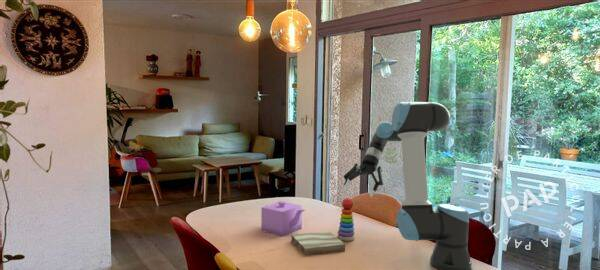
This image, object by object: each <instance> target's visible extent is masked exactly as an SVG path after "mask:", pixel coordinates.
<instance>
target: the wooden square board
mask: <svg viewBox="0 0 600 270" xmlns="http://www.w3.org/2000/svg"><path fill="white" fill-rule="evenodd" d="M291 242H292V243H293V245H294V246H296V247H297V249H298V250H299V251H300V252H301V253H302V254H303V255H304V256H311V255H319V254H328V253H338V252H339V253H340V252H345V251H346V243H344V241H342V240H340V239H338V237H337V236H335V234H333V233H331V231H329V230H327V231H316V232H315V231H314V232H307V233H304V232H303V233H295V234H291Z"/></svg>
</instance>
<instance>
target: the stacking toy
mask: <svg viewBox="0 0 600 270" xmlns="http://www.w3.org/2000/svg"><path fill="white" fill-rule="evenodd" d="M341 206H342V209H341V213H340V219H339V220H340V221H339V227H338V230H337V236H336V237H337V238H338V239H340V240H341V241H342V242H352V241H353V240H355V238H356V236H355V231H354V230H355V223H354V215H353V212H354V211H353V209H352V208H353V206H354V201H353V200H352V199H351V198H348V197H347V198H344V199H342V202H341Z"/></svg>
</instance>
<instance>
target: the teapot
mask: <svg viewBox="0 0 600 270" xmlns="http://www.w3.org/2000/svg"><path fill="white" fill-rule="evenodd" d="M305 211H306V210H305V209H303V205H302V204H295V203H291V202H288V201H287V202H286V201H284V200H280V201H279V200H278V202H274V203H271V204H268V205H265V206H264V205H263V206H261V220H260V221H261V222H260V223H261V229H260V230H262V231H261V232H263V231H266V232H265V233H267V232H269V233H268V234H271V233H273V234H272V235H275V234H276V235H275V236H278V235H279V237H282V236H283V237H285V236H287V235H290V234H292V233H295V232H297V231H300V230H301V229H302V226H303V225H302V224H303V223H302V222H303V212H305ZM289 233H290V234H289Z"/></svg>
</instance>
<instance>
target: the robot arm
mask: <svg viewBox="0 0 600 270" xmlns="http://www.w3.org/2000/svg"><path fill="white" fill-rule="evenodd" d="M450 121H451V114H450V111H449V110H448V109H447V107H445V106H444V105H443V104H441V103H439V102H434V101H429V102H428V101H427V102H426V101H410V100H409V101H400V102H398V103H397V104H396V105H395V107H394V108H393V111H392V115H391V122H388V121H382V122H381V123H379V124H378V126H377V128H376V129H375V132H374V134H373V135H372V137H371V140H370V142H369V145H368V148H367V149H366V152H365V155H364V157H363V159H362V163H361V164H358V163H355V164H354V166H352V168H351V169H350V170H348V172H347V173H345V174H344V175H343V179H344V180H345V181H344V184H343V185H344V187H343V189H342V190H343V193H344V194H347V192H348V190H349V188H350V186H351V183H352V182H351V181H353V180H354V179H356V178H358V177H359V176H362V175H365V176H366V175H367V176H371V177H372V179H373V181H374V182H373V183H372V185H371V189H370V190H369V193H368V195H369V198H371V199H372V198H373V196H374V194H375V192H377V190H378V188H379V186H384V181H383V175H382V171H383V170H382V167H381V166H378V165H379V161H380V160H381V157H382V154H383V152H384V150H385V147H386V145H387V144H388V142H401V148H402V150H401V151H402V154H401V155H402V169H403V170H402V171H403V185H404V202H403V203H402V204H401V208H399V210H397V211H396V224H397V227H398V231H399V233H400V235H401V237H402V238H404V240H407V241H416V242H418V241H435V244H434V248H433V249H432V253H431V255H430V258H429V260H430V261H429V262H430V265H431V266H432V267H434V268H436V269H438V270H470V269H471V270H472V264H473V263H472V259H471V255H470V252H469V249H468V244H469V243H468V241H469V223H470V217H469V215H470V214H469V212H468V210H467V209H465V208H463V207H460V206H456V205H453V204H446V203H440V204H437V206H436V208H433V203H432V201H430V200H429V193H428V179H427V177H428V176H427V165H426V151H425V138H426V137H427V136H428V134H429V133H431V132H432V133H433V132H434V133H436V132H440V131H442V130H445V129H446V128H447V127H448V126H449V124H450ZM375 172H377V177H378V179H377V177H376V176H375V174H374V173H375Z"/></svg>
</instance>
